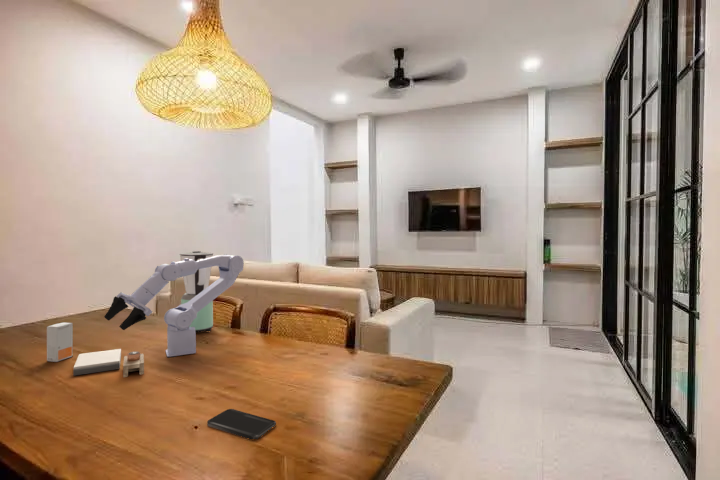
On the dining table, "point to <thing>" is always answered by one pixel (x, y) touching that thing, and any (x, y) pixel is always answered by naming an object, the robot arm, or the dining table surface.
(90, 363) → the dock
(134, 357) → the drum
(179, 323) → the robot arm
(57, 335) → the skincare box
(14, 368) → the dining table surface
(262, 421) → the phone
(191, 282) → the juicer
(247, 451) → the dining table surface
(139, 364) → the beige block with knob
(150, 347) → the dining table surface
